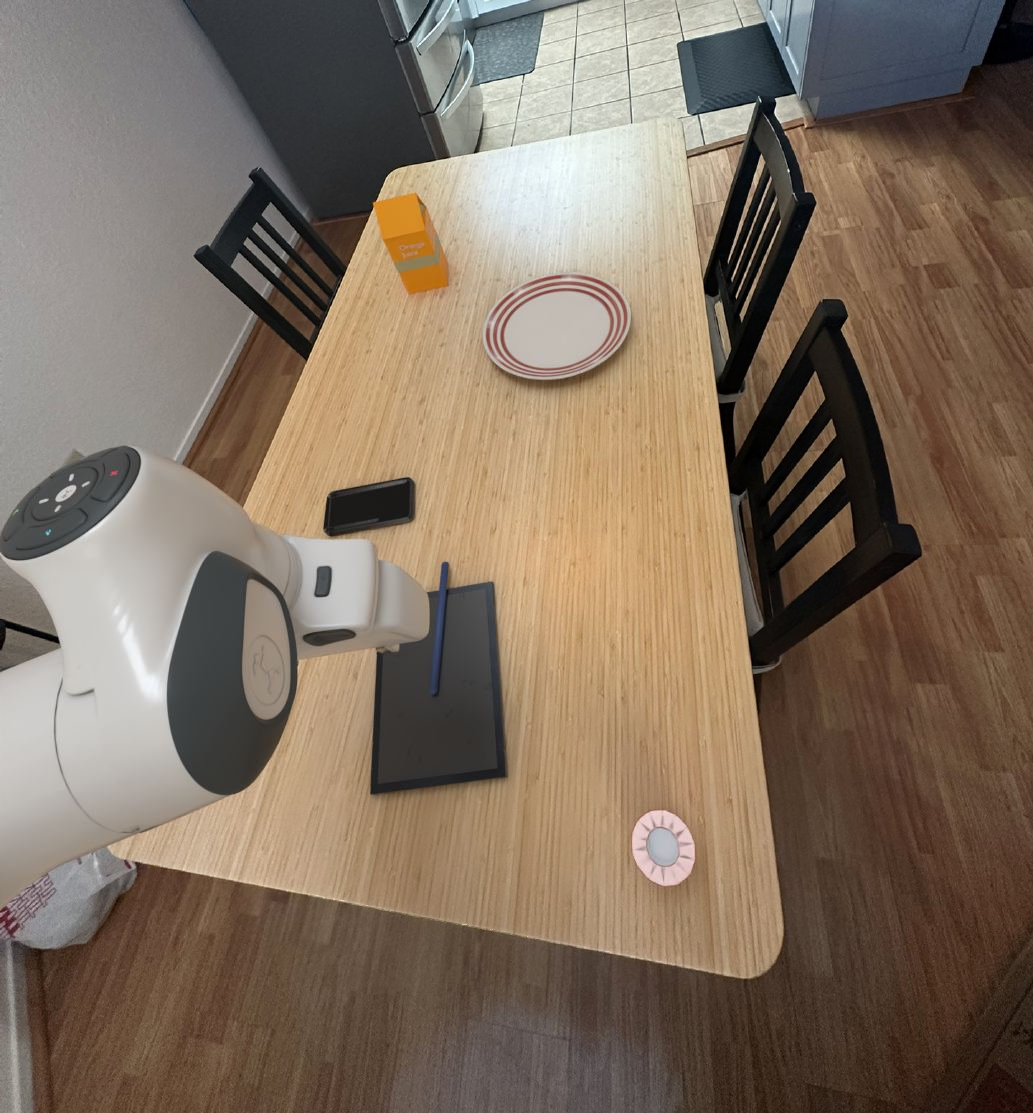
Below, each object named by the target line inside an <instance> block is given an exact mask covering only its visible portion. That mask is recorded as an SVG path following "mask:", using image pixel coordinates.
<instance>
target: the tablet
mask: <svg viewBox="0 0 1033 1113" xmlns="http://www.w3.org/2000/svg"><path fill="white" fill-rule="evenodd" d="M426 592H427V594H428V598H429V609H430V622H429V632H428V634H427V636H426V637H425V638H423V639H422V640H420V641H415V642H408V643H402V644H399V651H397V652H391V653H384V654H381V652H378V651H377V650H376V656H375V657H376V659H375V660H376V661H375V678H374V679H375V680H374V702H373V704H374V705H373V722H372V723H373V724H372V743H371V744H372V745H371V765H370V785H369V786H370V787H369V795H370V796H377V795H385V794H392V793H400V792H407V791H417V790H421V789H422V790H423V789H431V788H438V787H445V786H446V787H447V786H453V785H454V786H455V785H462V784H469V783H470V784H471V783H476V782H486V781H491V780H492V781H493V780H500V779H507V778H508V777H509V772H508V759H507V758H508V757H507V746H506V744H507V743H506V732H505V730H506V729H505V717H504V716H505V715H504V702H503V689H502V677H501V676H502V674H501V663H500V662H501V661H500V647H499V634H498V622H497V621H498V619H497V607H496V593H495V592H496V591H495V583H494V582H493V581H486V582H480V583H474V584H473V583H472V584H467V585H462V586H456V587H450V588H447V594H446V605H445V616H444V627H443V638H442V649H441V660H440V671H439V682H438V692H437V694H436V695H431V694H430V693H429V686H430V676H431V666H432V656H433V646H434V636H435V626H436V616H437V606H438V596H439V589H438V590H432V591H426Z"/></svg>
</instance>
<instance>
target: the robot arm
mask: <svg viewBox="0 0 1033 1113" xmlns="http://www.w3.org/2000/svg"><path fill="white" fill-rule="evenodd" d="M0 557H1V559H2V561H3V562H4V563H5V564H6V565H7V566H8V567H9V568H10V569H11V570H13V571H14V572H15V573H17V574H18V575H19V576H20V577H22V578H23V579H25V580H26V581H28V582H29V583H30V584H31V585H32V586H33V587H34V589H35V590H36V591H37V593H38V594H39V595H40V598H41V600H42V601H43V603H44V605H45V607H46V609H47V611H48V613H49V615H50V617H51V619H52V622H53V626H54V628H55V630H56V634H57V637H58V641H59V645H60V647H59V648H57V649H54V650H52V651H49V652H47V653H44V654H42V655H40V656H36V657H35V658H32V659H30V660H27V661H24V662H22V663H18V664H14V665H10V666H6V667H3V668H0V911H2V910H3V909H4V908H5V907H6V906H7V905H8V904H10V902H11V901H13V900H14V899H15V898H16V897H17V896H18V895H19V894H21V893H23V891H25V890H26V889H27V888H29V887H30V886H31V885H32V884H34V883H35V882H37V881H38V880H40V879H41V878H43V877H44V876H45V875H47V874H48V873H50V872H52V871H53V870H56V869H57V868H59V867H61V866H63V865H65V864H68V863H70V862H73V861H75V860H77V859H81V858H82V857H84V856H87V855H89V854H92V853H94V852H97V851H99V850H102V849H104V848H106V847H108V846H111V845H113V844H114V845H115V844H116V843H119V842H121V841H123V840H125V839H128V838H131V837H133V836H136V835H138V834H143V833H146V832H148V831H149V832H150V831H152V830H154V829H156V828H159V827H161V826H163V825H166V824H168V823H171V822H174V821H176V820H179V819H180V818H182V817H185V816H187V815H189V814H192V813H194V812H197V811H199V810H201V809H203V808H205V807H207V806H210V805H213V804H215V803H217V802H219V801H221V800H224V799H226V798H228V797H230V796H233V795H236V794H239V793H241V792H243V791H245V790H246V789H248V788H249V787H250V786H252V784H253V783H254V782H255V781H256V780H257V779H258V777H259V776H260V775H261V773H263V771H264V770H265V768H266V767H267V765H268V763H269V762H270V760H271V759H272V757H273V755H274V753H275V752H276V749H277V748H278V745H279V744H280V741H281V739H282V737H283V734H284V732H285V729H286V726H287V724H288V721H289V717H290V715H291V711H292V708H293V705H294V703H295V699H296V695H297V690H298V680H299V679H298V674H299V672H298V671H299V669H298V668H299V663H300V661H303V660H310V659H315V658H321V657H327V656H333V655H340V654H346V653H351V652H359V651H364V650H370V649H375V651H376V652H377V651H378V652H381V654H384V653H391V652H397V651H399V644H402V643H408V642H415V641H420V640H422V639H423V638H425V637H426V636H427V634H428V632H429V622H430V609H429V598H428V594H427V592H428V591H426V589H425V588H424V587H423V586H422V585H421V583H420V582H418V581H417V580H416V579H415V578H414V577H413V576H412V575H411V574H410V573H408V572H407V571H406V570H405V569H404V568H402V567H401V566H399V565H398V564H396V563H393V562H392V561H389V560H385V559H380V558H379V554H378V547H377V546H376V544H375V543H374V542H372V541H371V540H369V539H366V538H317V537H316V538H314V537H306V536H300V535H294V534H286V533H285V534H278V533H277V532H276V531H274V530H273V529H271V528H270V527H267V525H264V524H261V523H258V522H254V521H252V520H251V517H250V516H249V514H248V512H247V511H246V510H245V508H243V507H242V505H241V504H240V503H238V502H237V501H236V500H235V499H233V498H232V497H231V496H230V495H229V494H227V493H226V492H225V491H223V490H222V489H220V488H219V487H217V486H216V485H215V484H214V483H212V482H211V481H209V480H207V479H206V478H205V477H204V476H201V475H200V474H198V473H197V472H195V471H194V470H192V469H191V468H189V467H187V466H185V465H184V464H183V463H180V462H178V461H177V460H175V459H172V458H171V457H168V456H167V455H165V454H162V453H160V452H157V451H155V450H152V449H148V448H145V447H141V446H136V445H119V446H115V447H108V448H107V449H103V450H99V451H97V452H94V453H92V454H89V455H86V456H84V457H81V458H79V459H76V460H75V461H72V462H70V463H69V464H67V465H64V466H62V467H60V468H58V469H56V470H55V471H53V472H51V473H50V475H49V476H47V477H46V478H44V479H43V480H42V481H41V482H39V483H38V484H37V485H35V487H33V488H32V489H30V490H29V491H28V492H27V493H26V494H25V495H24V496H23V497H22V498H21V499H20V500H19V502H18V503H17V504H16V506H15V507H14V509H13V510H12V511H11V513H10V515H9V516H8V518H7V520H6V521H5V523H4V525H3V527H2V529H1V531H0Z"/></svg>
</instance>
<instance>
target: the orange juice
mask: <svg viewBox="0 0 1033 1113" xmlns="http://www.w3.org/2000/svg"><path fill="white" fill-rule="evenodd" d="M372 205H373V209H374V213H375V216H376V220H377V223H378V227H379V232H380V234H381V238H382V239H381V240H382V241H383V243H384V245H385V247H386V249H387V252H388V253H389V256H390V258H391V259H392V262H393V265H394V266H395V268H396V271H397V273H398V274H399V276H400V278H401V280H402V283H403V285H404V287H405V289H406V290H407V293H408V295H413V294H417V293H422V292H426V291H431V290H432V291H433V290H436V289H441V288H445V287H448V286H449V263H448V260H447V257H446V254H445V251H444V248H443V246H442V243H441V240H440V238H439V235H438V233H437V229H436V228H435V225H434V223H433V219H432V217H431V214H430V212H429V209H428V206H427V205H425V204H424V201H423V200H422V199H421V198H420V196H418V193H417V192H411V193H408V194H403V195H399V196H395V197H390V198H386V199H382V200H377V201H373V202H372Z"/></svg>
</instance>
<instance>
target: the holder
mask: <svg viewBox="0 0 1033 1113" xmlns="http://www.w3.org/2000/svg"><path fill="white" fill-rule="evenodd" d="M630 839H631V840H630V847H631V848H630V850H631V854H632V857H633V859H634V862H635V865H636V867H637V869H638V871H640V872H641V873H642V874H643V876H644V877H645V878H646V879H647V881H649V882H652V883H653V884H656V885H658V886H660V887H664V888H668V887H677V886H680V884H682V883H683V882H684V881H686V880H687V879H688V878H690V876H691V875H692V871H693V870H694V867H695V864H696V861H697V860H696V859H697V858H696V841H695V839H694V837H693V835H692V832H691V830H690V827H689V826H688V824H686V823H685V821H683V819H682V818H681V817H680V816H679V815H678V814H676V813H674V812H671V811H670V810H667V809H665V808H658V809H657V808H656V809H649V810H647V811H646V812H645V813H644V814H642V815H640V816H639V817H638V819H637V820H636V822H635V824H634V827H633V828H632V831H631V836H630Z"/></svg>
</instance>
